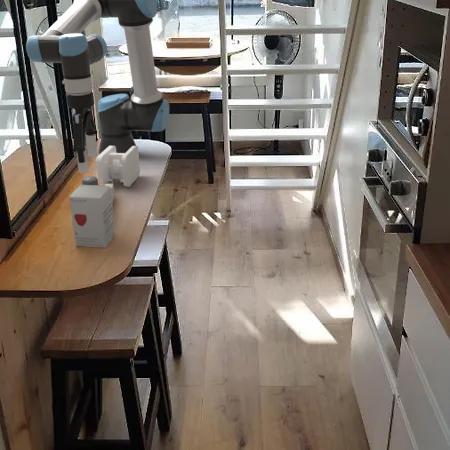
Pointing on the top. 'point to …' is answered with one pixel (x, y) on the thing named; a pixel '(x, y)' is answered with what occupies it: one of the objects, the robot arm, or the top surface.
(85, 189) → the supplement box
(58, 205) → the top surface
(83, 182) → the plug
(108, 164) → the cable organizer
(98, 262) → the top surface
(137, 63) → the robot arm
